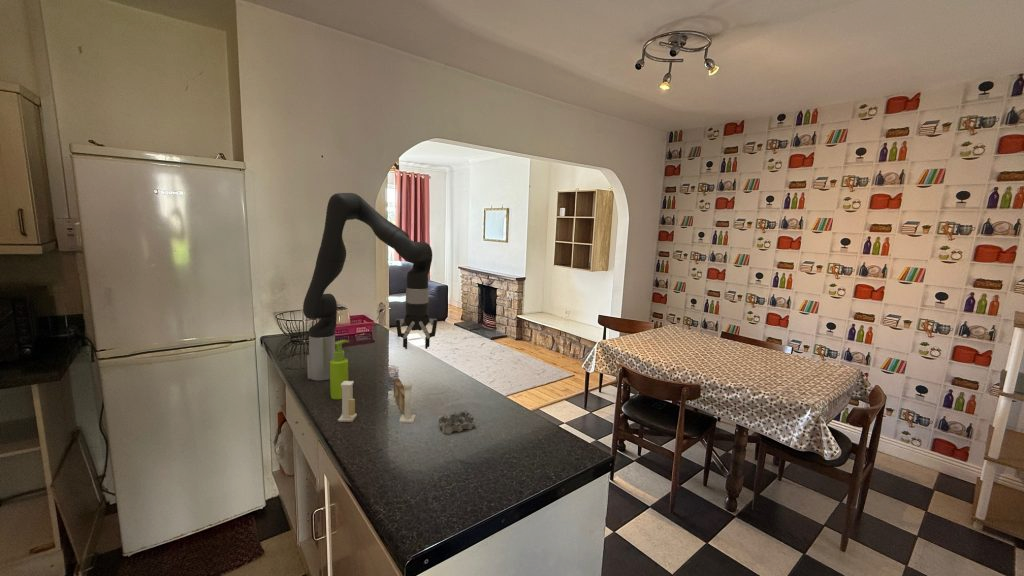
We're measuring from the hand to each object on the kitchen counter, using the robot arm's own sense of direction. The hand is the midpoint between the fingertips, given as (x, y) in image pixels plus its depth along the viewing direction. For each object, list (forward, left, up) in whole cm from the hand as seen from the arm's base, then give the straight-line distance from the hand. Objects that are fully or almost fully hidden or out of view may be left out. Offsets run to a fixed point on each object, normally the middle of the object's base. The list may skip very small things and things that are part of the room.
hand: (416, 348), depth 139 cm
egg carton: (+16, -17, -20) cm, 31 cm away
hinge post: (0, -13, -20) cm, 24 cm away
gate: (-4, -5, -19) cm, 20 cm away
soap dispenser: (-27, +4, -20) cm, 34 cm away
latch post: (-19, -13, -20) cm, 30 cm away
